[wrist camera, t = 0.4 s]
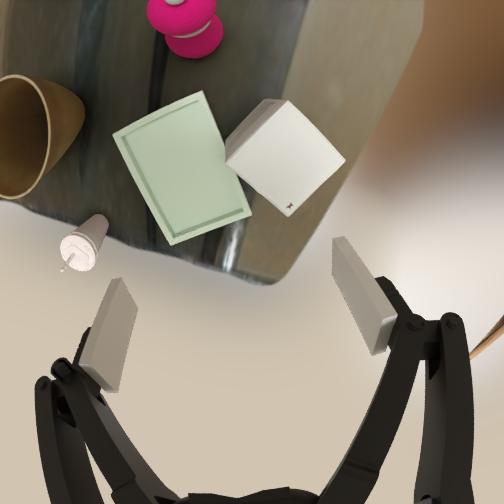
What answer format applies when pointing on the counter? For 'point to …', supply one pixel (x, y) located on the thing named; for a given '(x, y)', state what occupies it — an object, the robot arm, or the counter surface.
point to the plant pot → (34, 130)
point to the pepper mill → (187, 25)
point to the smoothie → (84, 244)
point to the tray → (183, 169)
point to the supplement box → (281, 154)
